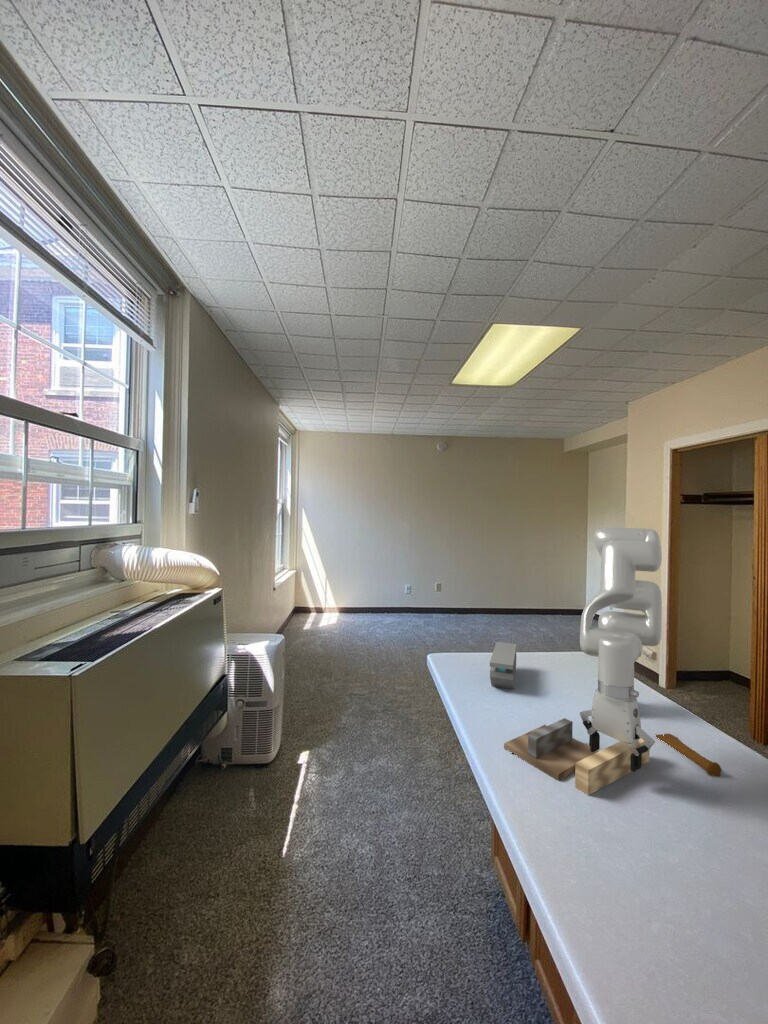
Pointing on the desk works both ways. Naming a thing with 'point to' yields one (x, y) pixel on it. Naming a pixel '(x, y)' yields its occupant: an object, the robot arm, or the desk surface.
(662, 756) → the desk surface
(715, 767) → the primitive tool
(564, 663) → the desk surface
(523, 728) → the desk surface
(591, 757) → the oak batten
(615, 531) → the robot arm
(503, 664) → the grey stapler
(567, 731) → the stand
